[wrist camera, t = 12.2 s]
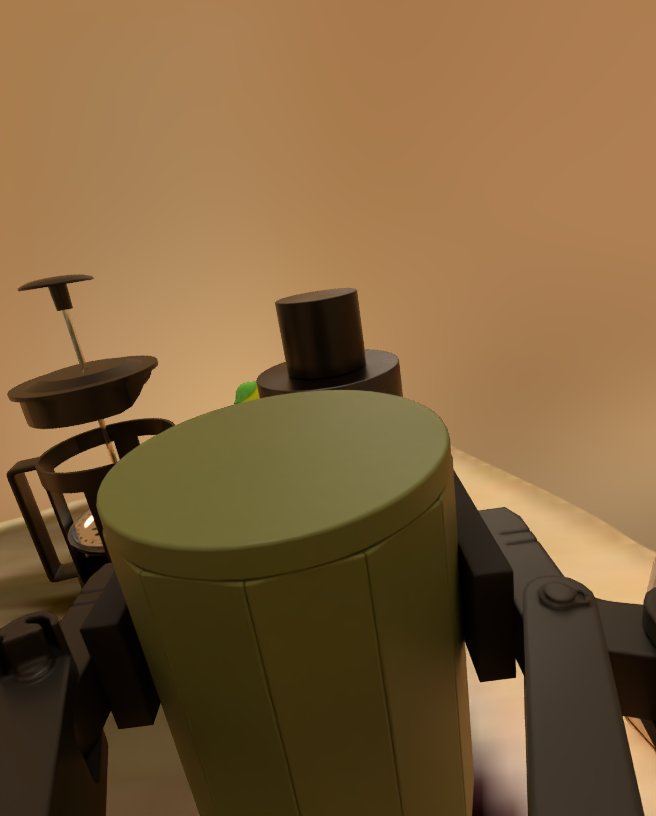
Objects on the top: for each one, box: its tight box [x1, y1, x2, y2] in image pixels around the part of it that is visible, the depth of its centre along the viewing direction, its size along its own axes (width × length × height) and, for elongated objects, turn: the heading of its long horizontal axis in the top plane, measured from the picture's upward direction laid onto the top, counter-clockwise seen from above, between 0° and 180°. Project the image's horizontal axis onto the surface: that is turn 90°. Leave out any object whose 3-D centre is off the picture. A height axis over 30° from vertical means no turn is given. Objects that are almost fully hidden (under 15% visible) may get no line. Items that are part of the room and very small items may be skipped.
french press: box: [7, 275, 175, 589], centre depth 33 cm, size 12×9×23 cm
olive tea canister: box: [96, 390, 474, 816], centre depth 12 cm, size 7×7×10 cm
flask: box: [256, 288, 403, 398], centre depth 29 cm, size 8×8×20 cm
